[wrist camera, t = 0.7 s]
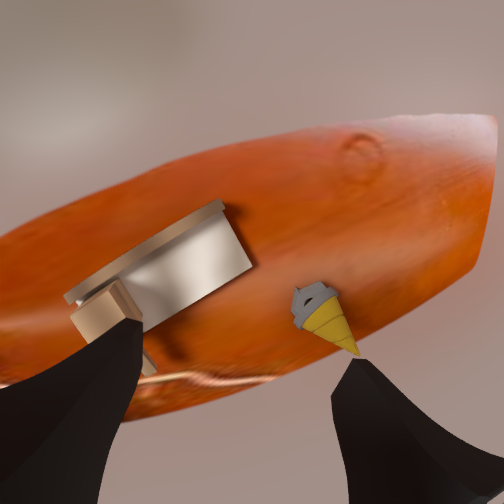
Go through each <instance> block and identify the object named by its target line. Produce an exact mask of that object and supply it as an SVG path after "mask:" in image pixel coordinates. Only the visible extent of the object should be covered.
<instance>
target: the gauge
mask: <svg viewBox="0 0 504 504" xmlns="http://www.w3.org/2000/svg"><path fill="white" fill-rule="evenodd" d="M69 317H70V318H71V320H72V321H73V323H74V324H75V326H76V327H77V329H78V330H79V331H80V333H81V334H82V336H83V337H84V338H85V340H86V341H87V343H88V344H89V343H91V342H92V341H94V340H95V339H96V338H98V337H99V336H101V335H102V334H103V333H105V332H106V331H107V330H109V329H110V328H112V327H113V326H114V325H116V324H117V323H118V322H120V321H121V320H123V319H124V318H126V317H127V318H130V319H134V320H138V321H141V322H142V317H143V314H142V312H141V311H140V309H139V308H138V306H137V305H136V303H135V302H134V300H133V299H132V297H131V296H130V294H129V293H128V291H127V290H126V288H125V286H124V285H123V283H122V282H121V280H120V278H117V279H116V280H114V281H113V282H111V283H109V284H108V285H106V286H105V287H103V288H102V289H100V290H99V291H97V292H96V293H94V294H93V295H91V296H90V297H88V298H87V299H85V300H84V301H83V302H82V304H81V305H80V306H79V307H78V308H77V309H76V310H75V311H74V312H73V313H72V314H71V315H70V316H69ZM141 372H142V373H143V374H144V375H145V376H146V378H147V377H148V376H150V375H152V374H154V373H156V372H157V364H156V363H155V362H154V361H153V359H152V358H151V357H150V356H149V354H148V353H147V352H146V350H145V349H144V348H143V367H142V370H141Z"/></svg>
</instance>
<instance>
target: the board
mask: <svg viewBox="0 0 504 504" xmlns="http://www.w3.org/2000/svg"><path fill="white" fill-rule="evenodd" d="M224 209H225V206H224V205H223V203H222V201H221V199H220V198H218V199H216V200H214V201H212V202H210V203H208V204H207V205H205V206H203V207H201V208H199V209H198V210H196V211H194V212H192V213H191V214H189V215H187V216H185V217H184V218H182V219H180V220H179V221H177V222H175V223H173V224H172V225H170V226H168V227H167V228H165V229H163V230H162V231H160V232H158V233H157V234H155V235H153V236H152V237H150V238H148V239H147V240H145V241H143V242H142V243H140V244H139V245H137V246H135V247H134V248H132V249H131V250H129V251H127V252H126V253H124V254H123V255H121V256H120V257H118V258H117V259H115V260H113V261H112V262H110V263H109V264H107V265H106V266H104V267H103V268H101V269H100V270H98V271H97V272H95V273H94V274H92V275H91V276H89V277H88V278H86V279H85V280H83V281H82V282H80V283H79V284H78V285H76V286H75V287H73V288H72V289H71V290H69V291H68V292H67V293H65V294H64V295H63V296H64V298H65V299H66V301H67V303H68V304H69V305H70V304H72V303H73V302H75V301H76V302H77V304H78V305H79V306H80V305H81V304H82V302H83V301H84V300H85V299H87V298H88V297H90V296H91V295H93V294H94V293H96V292H97V291H99V290H100V289H102V288H103V287H105V286H106V285H108V284H109V283H111V282H113V281H114V280H116V279H117V278H120V280H121V282H122V283H123V285H124V286H125V288H126V290H127V291H128V293H129V294H130V296H131V297H132V299H133V300H134V302H135V303H136V305H137V306H138V308H139V309H140V311H141V312H142V314H143V317H142V322H143V333H144V332H146V331H147V330H149V329H151V328H152V327H154V326H156V325H157V324H159V323H161V322H162V321H164V320H166V319H167V318H169V317H171V316H172V315H174V314H176V313H177V312H179V311H181V310H182V309H184V308H186V307H187V306H189V305H190V304H192V303H194V302H195V301H197V300H199V299H200V298H202V297H204V296H205V295H207V294H209V293H210V292H212V291H213V290H215V289H217V288H218V287H220V286H222V285H223V284H225V283H226V282H228V281H230V280H231V279H233V278H235V277H236V276H238V275H239V274H241V273H243V272H244V271H246V270H247V269H249V268H251V267H252V264H251V263H250V261H249V259H248V257H247V255H246V254H245V252H244V250H243V248H242V246H241V244H240V243H239V241H238V239H237V237H236V235H235V233H234V232H233V230H232V228H231V226H230V224H229V222H228V221H227V219H226V217H225V215H224V213H223V211H222V210H224Z"/></svg>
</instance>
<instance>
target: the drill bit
mask: <svg viewBox="0 0 504 504" xmlns="http://www.w3.org/2000/svg"><path fill="white" fill-rule="evenodd" d="M337 297H338V293H337V292H336V291H335V290H334V289H333V288H332V287H328V288H326V287H325V286H324V285H323V284H322V283H321V282H320V281H318V282H316V283H313V284H311V285H309V286H307V287H305V288H302V289H300V290H299V289H298V288H297V287H296V286H295V291H294V296H293V302H292V307H291V312H292V313H293V314H294V315H295V319H294V321H293V323H294V324H295V325H296V326H297V327H298V328H299V330H303V329H306V330H308V331H310V332H312V331H313V332H312V333H314V334H316V335H318V336H320V337H322V338H324V339H325V340H327V341H329V342H332V343H333V344H335V345H337V346H339V347H341V348H343V349H345V350H347V351H349V352H351V353H354V354H355V355H357V356H360V353H359V350H358V348H357V345H356V343H355V340H354V338H353V335H352V333H351V330H350V328H349V326H348V323H347V321H346V319H345V317H344V314H343V311H342V309H341V307H340V305H339V302H338V300H337ZM310 298H313V299H312V300H311V301H310V302H309V303H308V301H309V299H310Z"/></svg>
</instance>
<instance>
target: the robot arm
mask: <svg viewBox="0 0 504 504" xmlns="http://www.w3.org/2000/svg"><path fill="white" fill-rule="evenodd" d="M142 367H143V322H141V321H138V320H134V319H130V318H127V317H126V318H124V319H123V320H121V321H120V322H118V323H117V324H116V325H114V326H113V327H112V328H110V329H109V330H107V331H106V332H105V333H103V334H102V335H101V336H99V337H98V338H96V339H95V340H94V341H92V342H91V343H89V344H88V345H86V346H85V347H83V348H82V349H80V350H79V351H77V352H76V353H74V354H73V355H71V356H69V357H68V358H66V359H65V360H63V361H61V362H60V363H58V364H56V365H54V366H53V367H51V368H49V369H47V370H45V371H43V372H41V373H39V374H37V375H35V376H33V377H31V378H29V379H26V380H24V381H21V382H18V383H16V384H13V385H10V386H8V387H5V388H2V389H0V504H97V502H98V496H99V490H100V486H101V482H102V477H103V473H104V469H105V465H106V461H107V457H108V454H109V450H110V448H111V445H112V442H113V439H114V437H115V435H116V432H117V430H118V428H119V426H120V423H121V421H122V419H123V417H124V414H125V412H126V410H127V408H128V405H129V403H130V401H131V399H132V396H133V394H134V392H135V389H136V386H137V383H138V380H139V377H140V374H141V370H142ZM331 403H332V413H333V420H334V424H335V429H336V433H337V437H338V441H339V445H340V449H341V453H342V457H343V461H344V465H345V469H346V475H347V482H348V493H349V504H487V502H488V501H490V500H492V499H493V498H494V497H496V496H497V495H498V494H500V493H501V492H503V491H504V458H502V457H499V456H496V455H493V454H490V453H487V452H485V451H483V450H480V449H478V448H476V447H474V446H472V445H470V444H468V443H466V442H465V441H463V440H461V439H459V438H457V437H456V436H454V435H453V434H451V433H450V432H448V431H447V430H445V429H444V428H443V427H441V426H440V425H438V424H437V423H436V422H434V421H433V420H432V419H431V418H429V417H428V416H427V415H426V414H425V413H423V412H422V411H421V410H420V409H419V408H418V407H417V406H416V405H414V404H413V403H412V402H411V401H410V400H409V399H408V398H407V397H406V396H405V395H404V394H403V393H402V392H401V391H400V390H399V389H398V388H397V387H396V386H395V385H394V384H393V383H392V382H390V380H389V379H388V378H387V377H386V376H385V375H384V374H383V373H382V372H380V371H379V370H378V369H377V368H376V367H375V366H374V365H373V364H372V363H371V362H370V361H368V360H367V359H354V358H353V359H352V361H351V363H350V364H349V366H348V368H347V370H346V372H345V373H344V375H343V377H342V378H341V380H340V382H339V383H338V385H337V387H336V388H335V390H334V392H333V393H332V395H331ZM503 504H504V503H503Z"/></svg>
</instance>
